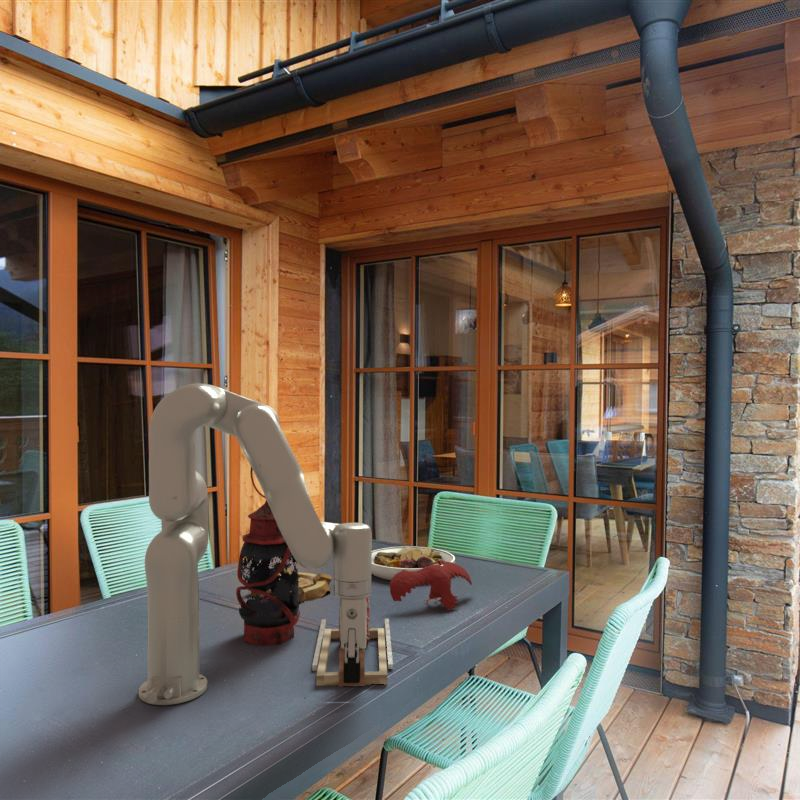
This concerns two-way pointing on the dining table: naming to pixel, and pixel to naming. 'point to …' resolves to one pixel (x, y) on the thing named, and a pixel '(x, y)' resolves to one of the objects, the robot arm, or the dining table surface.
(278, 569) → the lantern
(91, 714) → the dining table surface
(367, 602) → the soda can
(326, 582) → the ashtray
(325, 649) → the pull frame
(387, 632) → the guide rails
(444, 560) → the bowl
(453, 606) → the decorative bird sculpture
